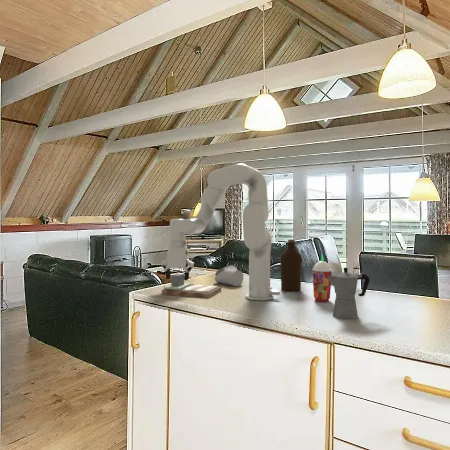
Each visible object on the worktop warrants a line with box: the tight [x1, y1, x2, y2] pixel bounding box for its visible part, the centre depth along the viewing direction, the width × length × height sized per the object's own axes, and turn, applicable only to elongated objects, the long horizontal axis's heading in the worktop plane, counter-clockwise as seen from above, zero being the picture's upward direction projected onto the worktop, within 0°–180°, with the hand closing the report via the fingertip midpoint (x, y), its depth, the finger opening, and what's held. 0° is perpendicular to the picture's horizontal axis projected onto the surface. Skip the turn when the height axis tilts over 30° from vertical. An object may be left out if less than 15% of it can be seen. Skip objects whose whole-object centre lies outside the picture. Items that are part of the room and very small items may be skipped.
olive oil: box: [279, 239, 303, 293], centre depth 184 cm, size 11×11×25 cm
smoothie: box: [311, 254, 333, 303], centre depth 162 cm, size 8×8×20 cm
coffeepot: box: [327, 267, 371, 320], centre depth 137 cm, size 15×9×18 cm, turn 90°
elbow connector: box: [214, 265, 244, 287], centre depth 205 cm, size 18×11×20 cm
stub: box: [163, 273, 192, 290], centre depth 181 cm, size 8×13×6 cm, turn 161°
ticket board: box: [161, 283, 222, 299], centre depth 178 cm, size 24×16×3 cm, turn 71°
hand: (177, 279), depth 181 cm, fingers open, 9 cm apart
